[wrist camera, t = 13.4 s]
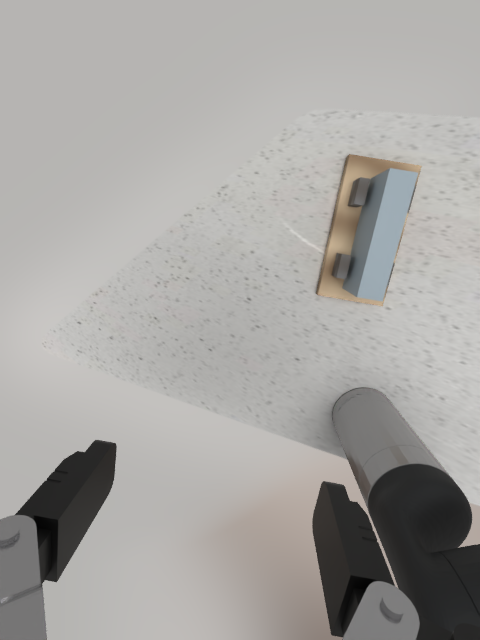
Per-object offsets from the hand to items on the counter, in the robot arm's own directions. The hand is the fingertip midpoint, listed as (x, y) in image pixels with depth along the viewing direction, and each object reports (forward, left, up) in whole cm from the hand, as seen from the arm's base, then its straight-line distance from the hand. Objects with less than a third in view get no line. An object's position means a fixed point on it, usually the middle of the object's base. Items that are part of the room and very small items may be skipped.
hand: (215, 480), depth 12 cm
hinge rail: (-3, -18, -36) cm, 40 cm away
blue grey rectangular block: (-3, -18, -35) cm, 39 cm away
